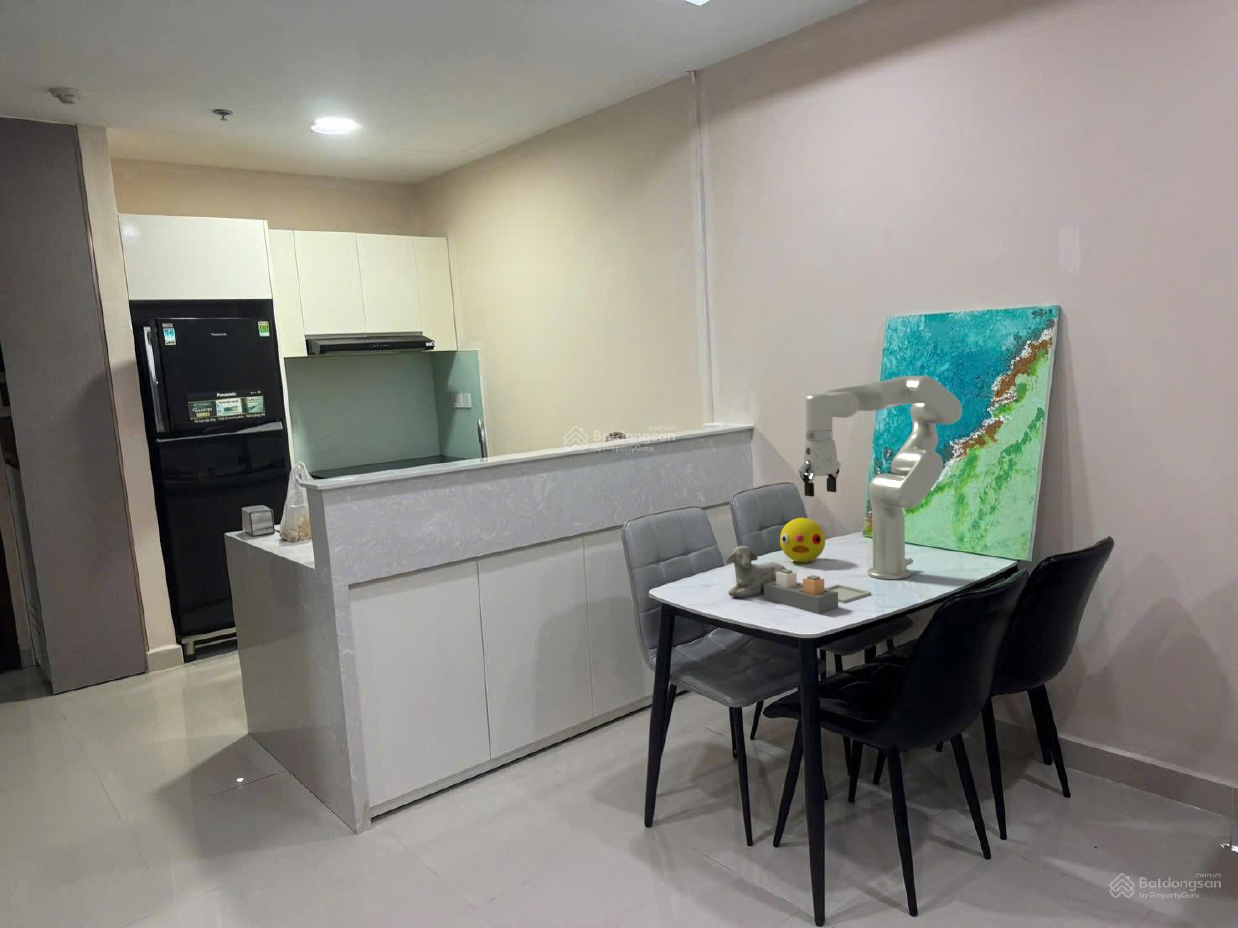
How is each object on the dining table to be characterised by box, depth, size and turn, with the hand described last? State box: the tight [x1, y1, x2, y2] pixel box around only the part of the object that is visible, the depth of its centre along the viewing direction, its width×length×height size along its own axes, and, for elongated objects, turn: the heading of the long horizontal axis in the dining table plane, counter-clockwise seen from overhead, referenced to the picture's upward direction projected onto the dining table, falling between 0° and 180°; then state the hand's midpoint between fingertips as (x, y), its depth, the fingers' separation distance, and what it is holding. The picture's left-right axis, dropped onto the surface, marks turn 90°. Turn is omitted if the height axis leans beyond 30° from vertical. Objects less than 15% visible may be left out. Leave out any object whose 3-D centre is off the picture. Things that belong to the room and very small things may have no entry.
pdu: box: [763, 568, 839, 615], centre depth 228 cm, size 8×20×9 cm, turn 35°
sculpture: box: [725, 545, 787, 598], centre depth 242 cm, size 11×21×15 cm, turn 127°
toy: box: [779, 517, 826, 563], centre depth 275 cm, size 15×16×15 cm
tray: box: [824, 583, 872, 604], centre depth 235 cm, size 12×12×1 cm
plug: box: [802, 574, 825, 595], centre depth 224 cm, size 4×4×8 cm
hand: (820, 493), depth 242 cm, fingers open, 9 cm apart
